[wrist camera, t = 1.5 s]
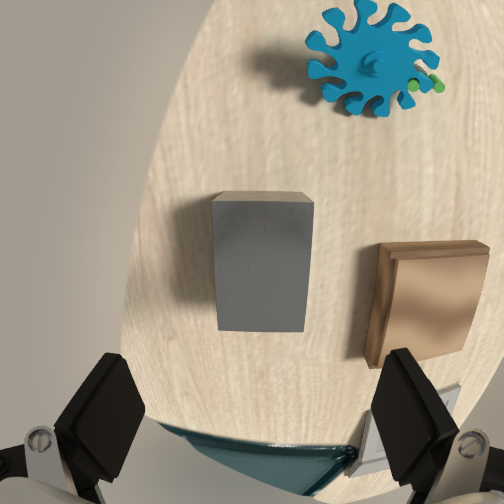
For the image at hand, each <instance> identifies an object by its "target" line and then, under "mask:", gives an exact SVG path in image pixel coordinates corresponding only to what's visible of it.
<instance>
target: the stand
mask: <svg viewBox="0 0 504 504" xmlns="http://www.w3.org/2000/svg"><path fill="white" fill-rule="evenodd" d="M489 250H490V247H488V246H486V245H484V244H482V243H481V242H479V241H477V240H464V241H429V242H396V243H380V246H379V257H378V267H377V276H376V284H375V291H374V298H373V305H372V311H371V317H370V323H369V328H368V334H367V339H366V344H365V349H364V353H363V355H364V357H365V360H366V362H367V365H368V367H369V369H375V368H377V369H379V368H383V364H384V360H385V357H386V355H387V354H390V351H391V350H393V349H399V348H405V347H406V348H408V349H409V351H410V352H411V354H412V355H413V357H414V358H415V360H416V361H421V360H425V359H430V358H434V357H438V356H442V355H446V354H450V353H453V352H457V351H460V350H462V348H463V346H464V343H465V341H466V338H467V335H468V333H469V330H470V327H471V324H472V321H473V318H474V315H475V312H476V308H477V305H478V302H479V298H480V295H481V291H482V287H483V283H484V279H485V275H486V270H487V266H488V261H489V256H490V255H489Z"/></svg>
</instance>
